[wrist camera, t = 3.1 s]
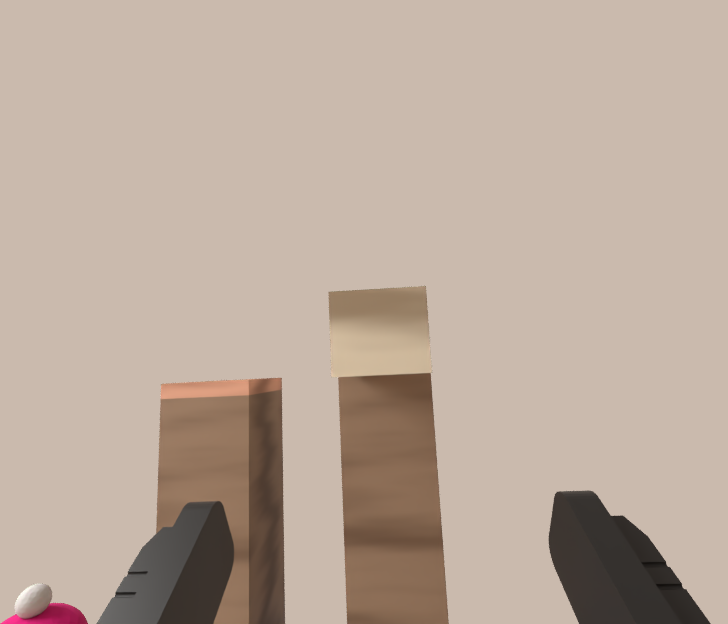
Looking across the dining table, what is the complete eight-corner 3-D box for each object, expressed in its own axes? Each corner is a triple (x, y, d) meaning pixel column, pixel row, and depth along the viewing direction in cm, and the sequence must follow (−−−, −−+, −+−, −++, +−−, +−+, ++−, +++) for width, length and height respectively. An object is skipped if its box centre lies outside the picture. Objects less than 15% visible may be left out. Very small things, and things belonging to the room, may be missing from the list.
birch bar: (432, 372, 15) (425, 286, 16) (331, 377, 16) (328, 291, 16) (405, 371, 39) (403, 337, 40) (365, 373, 39) (364, 339, 40)
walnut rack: (487, 1007, 20) (439, 371, 25) (126, 992, 21) (149, 384, 26) (456, 809, 29) (425, 371, 33) (205, 805, 30) (211, 381, 34)
